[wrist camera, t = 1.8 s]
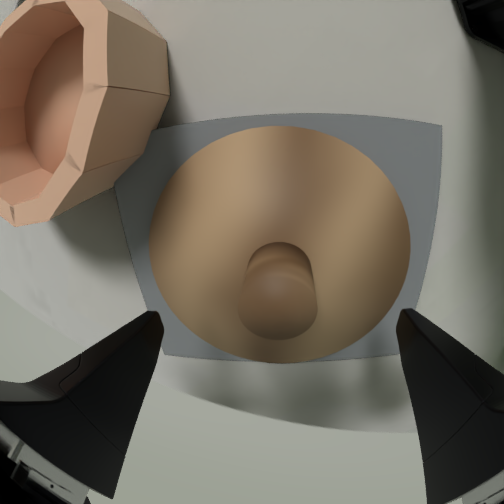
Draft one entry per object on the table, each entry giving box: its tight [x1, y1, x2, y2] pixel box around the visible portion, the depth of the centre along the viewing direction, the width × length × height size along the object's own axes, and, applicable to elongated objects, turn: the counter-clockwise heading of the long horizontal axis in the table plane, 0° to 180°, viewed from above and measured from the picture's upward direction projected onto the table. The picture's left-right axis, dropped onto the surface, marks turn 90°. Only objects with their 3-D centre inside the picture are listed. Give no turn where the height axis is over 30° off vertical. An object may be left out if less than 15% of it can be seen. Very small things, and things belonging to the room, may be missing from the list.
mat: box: [114, 113, 442, 362], centre depth 13 cm, size 16×14×1 cm
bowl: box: [0, 0, 170, 227], centre depth 8 cm, size 11×11×5 cm
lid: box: [149, 126, 411, 363], centre depth 12 cm, size 13×13×4 cm
